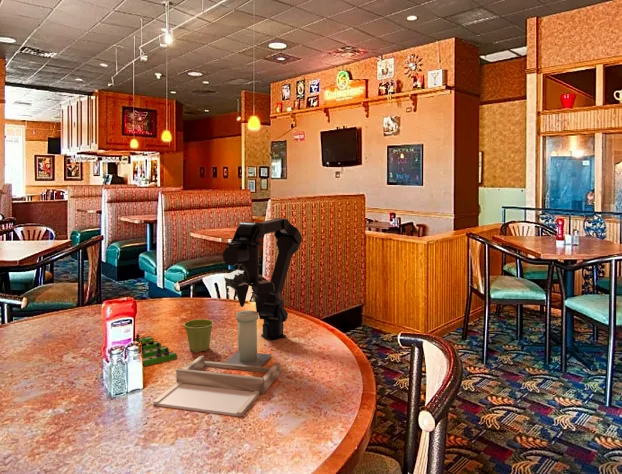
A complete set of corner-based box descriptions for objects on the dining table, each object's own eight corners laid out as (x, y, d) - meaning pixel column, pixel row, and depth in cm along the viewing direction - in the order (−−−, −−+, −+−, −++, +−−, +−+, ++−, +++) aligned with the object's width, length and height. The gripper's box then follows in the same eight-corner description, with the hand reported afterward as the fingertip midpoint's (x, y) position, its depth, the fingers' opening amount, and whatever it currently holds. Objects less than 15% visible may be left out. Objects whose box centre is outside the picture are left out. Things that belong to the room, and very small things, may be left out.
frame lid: (178, 385, 133) (178, 381, 133) (259, 395, 127) (259, 391, 127) (153, 405, 121) (153, 401, 121) (241, 416, 116) (241, 412, 116)
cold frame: (202, 363, 148) (202, 350, 148) (280, 372, 142) (280, 358, 142) (176, 384, 134) (176, 370, 133) (262, 394, 128) (262, 379, 127)
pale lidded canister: (250, 353, 155) (250, 309, 153) (263, 359, 150) (262, 314, 148) (232, 358, 151) (231, 313, 149) (244, 364, 146) (244, 318, 144)
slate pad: (237, 353, 157) (237, 351, 157) (270, 356, 154) (270, 354, 154) (223, 366, 146) (223, 363, 146) (258, 370, 144) (258, 367, 144)
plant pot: (207, 355, 155) (206, 328, 154) (179, 353, 157) (178, 326, 156) (218, 345, 165) (218, 320, 164) (192, 343, 166) (191, 318, 165)
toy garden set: (178, 360, 153) (177, 345, 152) (114, 375, 141) (113, 360, 140) (149, 340, 171) (148, 327, 170) (90, 353, 159) (89, 339, 158)
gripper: (212, 260, 160) (213, 307, 162) (244, 268, 146) (245, 319, 148) (241, 256, 168) (242, 302, 169) (275, 264, 154) (275, 313, 155)
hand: (250, 309), depth 160 cm, fingers open, 9 cm apart
